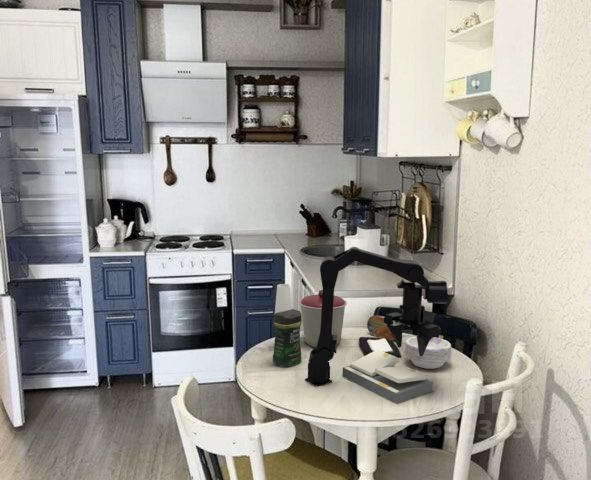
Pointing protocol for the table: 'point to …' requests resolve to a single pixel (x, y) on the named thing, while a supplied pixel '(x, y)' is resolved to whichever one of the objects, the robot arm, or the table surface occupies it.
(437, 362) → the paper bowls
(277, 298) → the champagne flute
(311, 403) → the table surface
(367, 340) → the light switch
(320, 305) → the canister
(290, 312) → the coffee jar
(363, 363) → the rocker left
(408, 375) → the rocker right
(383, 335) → the tin
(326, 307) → the robot arm
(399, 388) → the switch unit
